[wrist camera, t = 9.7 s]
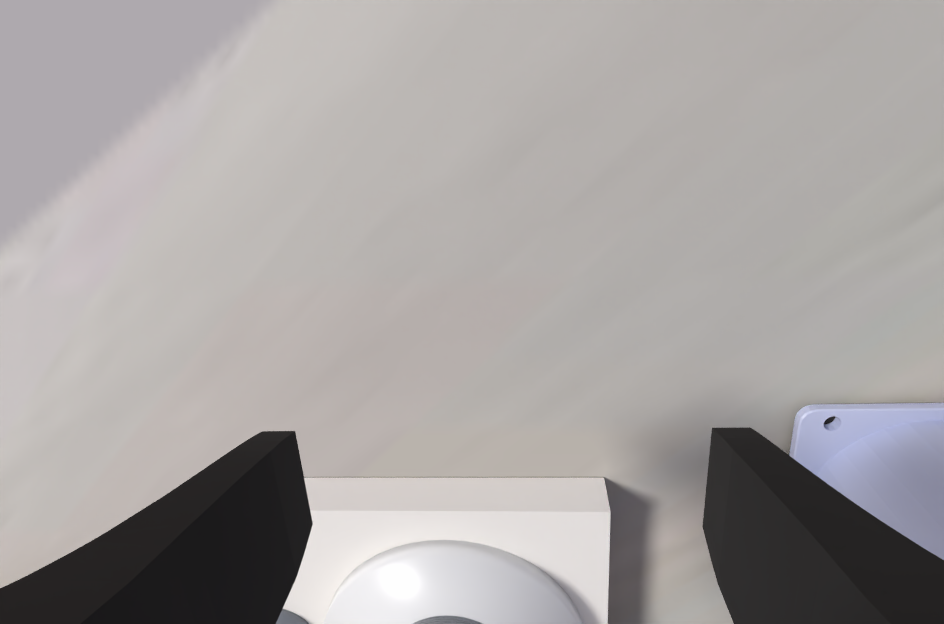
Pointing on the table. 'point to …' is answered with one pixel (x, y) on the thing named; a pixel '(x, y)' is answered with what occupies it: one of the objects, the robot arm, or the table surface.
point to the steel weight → (447, 620)
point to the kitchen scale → (454, 551)
